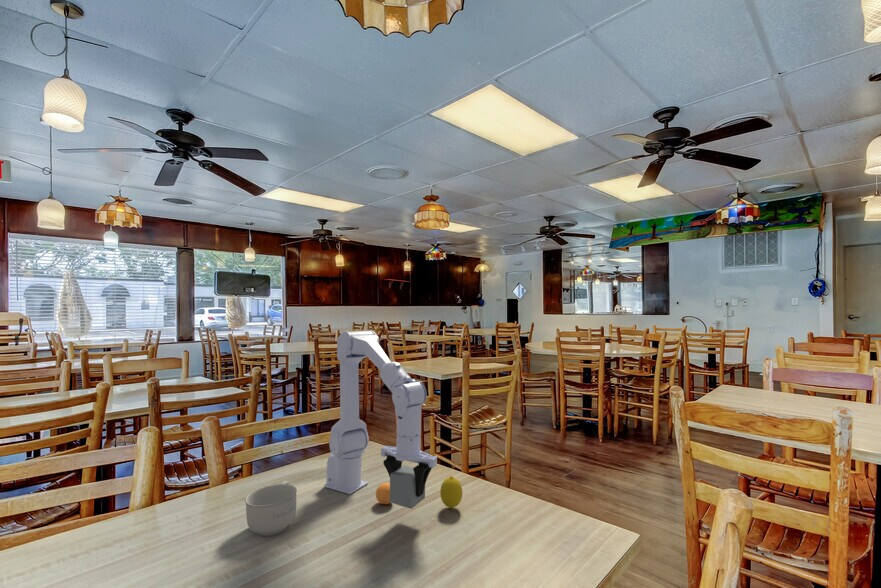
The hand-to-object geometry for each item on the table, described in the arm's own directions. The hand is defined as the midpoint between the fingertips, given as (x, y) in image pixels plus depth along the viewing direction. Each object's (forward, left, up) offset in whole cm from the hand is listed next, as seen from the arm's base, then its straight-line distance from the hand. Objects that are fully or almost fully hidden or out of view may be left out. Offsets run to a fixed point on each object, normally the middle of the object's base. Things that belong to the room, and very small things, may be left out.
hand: (407, 491), depth 95 cm
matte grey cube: (0, 0, -2) cm, 2 cm away
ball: (-10, +5, -5) cm, 12 cm away
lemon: (+6, +11, -7) cm, 14 cm away
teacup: (-26, -16, -7) cm, 31 cm away
